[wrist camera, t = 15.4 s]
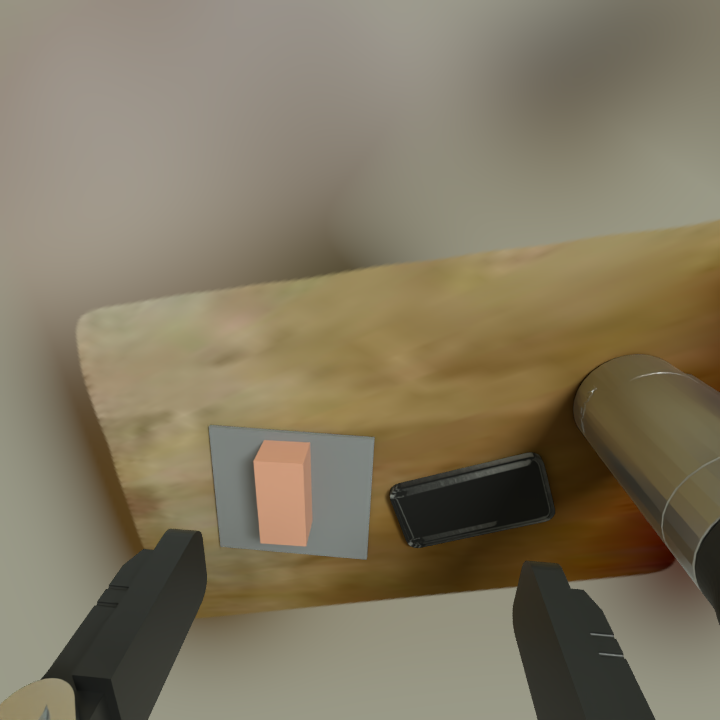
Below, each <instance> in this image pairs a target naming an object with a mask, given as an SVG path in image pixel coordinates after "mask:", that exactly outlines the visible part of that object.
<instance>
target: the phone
mask: <svg viewBox="0 0 720 720" xmlns="http://www.w3.org/2000/svg"><path fill="white" fill-rule="evenodd" d="M390 500H391V503H392V505H393V508H394V510H395V513H396V516H397V518H398V521H399V523H400V526H401V528H402V531H403V534H404V536H405V539H406V541H407V543H408V544H409V545H410V546H412V547H414V548H421V547H426V546H431V545H436V544H440V543H445V542H450V541H455V540H459V539H464V538H469V537H474V536H478V535H483V534H488V533H493V532H498V531H502V530H507V529H512V528H517V527H521V526H526V525H531V524H536V523H540V522H545V521H548V520H550V519H551V518H552V517H553V516H554V514H555V508H554V504H553V499H552V495H551V491H550V487H549V483H548V478H547V474H546V470H545V466H544V463H543V461H542V459H541V457H540V456H539V455H538V454H536V453H531V452H530V453H524V454H520V455H516V456H512V457H507V458H503V459H499V460H495V461H491V462H487V463H482V464H478V465H474V466H470V467H466V468H461V469H457V470H453V471H449V472H445V473H440V474H436V475H432V476H428V477H424V478H419V479H415V480H411V481H407V482H403V483H398V484H396V485H394V486H393V487H392V488H391V490H390Z"/></svg>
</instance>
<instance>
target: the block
mask: <svg viewBox="0 0 720 720" xmlns="http://www.w3.org/2000/svg"><path fill="white" fill-rule="evenodd" d="M253 463H254V474H255V486H256V497H257V509H258V520H259V532H260V543H262V544H277V545H292V546H307V541H308V537H309V533H310V529H311V525H312V488H311V454H310V442H292V441H273V440H264V441H263V443H262V445H261V447H260V449H259V451H258V453H257V455H256V457H255V459H254V461H253Z"/></svg>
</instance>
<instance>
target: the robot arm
mask: <svg viewBox="0 0 720 720" xmlns="http://www.w3.org/2000/svg"><path fill="white" fill-rule="evenodd" d="M573 413H574V419H575V422H576V424H577V427H578V428H579V430H580V431H581V432H582V434H583V435H584V436H585V438H586V439H587V440H588V442H589V443H590V444H591V446H592V447H593V448H594V450H595V451H596V453H597V454H598V456H599V457H600V458H601V460H602V461H603V462H604V463H605V465H606V466H607V467H608V469H609V470H610V471H611V473H612V474H613V475H614V477H615V478H616V479H617V481H618V482H619V483H620V485H621V486H622V487H623V489H624V490H625V491H626V493H627V494H628V495H629V497H630V498H631V499H632V501H633V502H634V503H635V505H636V506H637V507H638V509H639V510H640V511H641V513H642V514H643V515H644V517H645V518H646V519H647V521H648V522H649V523H650V525H651V526H652V527H653V529H654V530H655V531H656V533H657V534H658V535H659V536H660V538H661V539H662V540H663V542H664V543H665V544H666V546H667V547H668V548H669V550H670V551H671V552H672V553H673V555H674V556H675V557H676V559H677V560H678V561H679V563H680V564H681V565H682V567H683V568H684V569H685V571H686V572H687V573H688V575H689V576H690V577H691V579H692V580H693V581H694V583H695V584H696V585H697V587H698V588H699V589H700V591H701V592H702V593H703V594H704V596H705V597H706V598H707V599H708V601H709V602H710V603H711V605H712V606H713V608H714V609H715V612H716V615H717V619H718V622H719V625H720V393H719V392H718V391H716V390H715V389H713V388H711V387H710V386H708V385H707V384H705V383H704V382H702V381H700V380H699V379H697V378H696V377H694V376H693V375H691V374H685V373H683V372H682V371H680V370H679V369H677V368H675V367H674V366H672V365H671V364H669V363H668V362H666V361H664V360H662V359H660V358H657V357H654V356H650V355H641V354H635V355H626V356H622V357H619V358H615V359H612V360H610V361H608V362H606V363H604V364H602V365H601V366H599V367H598V368H597V369H595V370H594V371H592V372H591V373H590V374H589V375H588V377H587V378H586V379H585V380H584V381H583V382H582V384H581V386H580V387H579V389H578V391H577V393H576V396H575V399H574V405H573ZM206 583H207V572H206V563H205V555H204V546H203V538H202V534H201V532H200V531H192V530H180V529H169V530H167V531H166V532H165V534H164V535H163V537H162V538H161V540H160V541H159V543H158V544H157V546H156V547H155V549H154V550H148V549H143V550H142V551H140V552H139V553H138V554H137V555H135V556H134V557H133V558H132V559H130V560H129V561H128V562H127V563H125V564H124V565H123V566H122V568H121V569H120V570H119V572H118V573H117V575H116V576H115V577H114V579H113V580H112V582H111V583H110V585H109V588H108V589H106V590H105V591H104V593H103V594H102V596H101V597H100V599H99V600H98V602H97V605H96V606H94V607H93V608H92V610H91V611H90V613H89V614H88V615H87V617H86V618H85V620H84V621H83V623H82V624H81V625H80V627H79V628H78V630H77V631H76V632H75V634H74V635H73V636H72V638H71V639H70V641H69V642H68V644H67V645H66V646H65V648H64V650H63V651H62V652H61V653H60V655H59V656H58V658H57V659H56V660H55V662H54V663H53V665H52V666H51V667H50V669H49V670H48V672H47V673H46V674H45V675H44V676H43V678H42V679H41V680H39V681H36V682H33V683H30V684H28V685H26V686H24V687H22V688H21V689H19V690H18V691H16V692H14V693H13V694H12V695H11V696H9V697H8V698H7V699H5V700H4V701H3V702H2V703H1V704H0V720H148V718H149V716H150V714H151V711H152V709H153V707H154V705H155V703H156V701H157V699H158V696H159V694H160V692H161V690H162V687H163V685H164V683H165V681H166V679H167V677H168V675H169V672H170V670H171V668H172V666H173V664H174V662H175V659H176V657H177V655H178V653H179V651H180V649H181V646H182V644H183V642H184V640H185V638H186V635H187V633H188V631H189V629H190V627H191V624H192V622H193V620H194V618H195V616H196V614H197V612H198V609H199V607H200V605H201V603H202V600H203V597H204V594H205V589H206ZM513 627H514V633H515V637H516V641H517V644H518V648H519V652H520V655H521V659H522V663H523V667H524V670H525V674H526V678H527V682H528V685H529V689H530V693H531V696H532V700H533V704H534V708H535V711H536V715H537V719H538V720H655V718H654V716H653V714H652V711H651V709H650V707H649V705H648V703H647V701H646V699H645V697H644V695H643V693H642V691H641V689H640V687H639V685H638V683H637V681H636V679H635V677H634V675H633V672H632V670H631V668H630V666H629V664H628V662H627V660H626V659H624V657H623V652H622V650H621V648H620V646H619V644H618V642H617V640H616V639H614V634H613V632H612V630H611V627H610V626H609V623H608V622H607V619H606V617H605V615H604V613H603V611H602V610H601V609H600V608H599V606H598V605H597V604H596V603H595V602H594V601H593V600H592V599H591V598H590V597H589V595H588V594H587V593H586V592H585V591H584V590H579V589H571V588H570V586H569V584H568V581H567V579H566V577H565V574H564V572H563V570H562V568H561V566H560V565H559V564H557V563H546V562H535V561H525V562H524V563H523V566H522V570H521V574H520V578H519V583H518V587H517V591H516V595H515V599H514V604H513Z"/></svg>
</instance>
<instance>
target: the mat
mask: <svg viewBox="0 0 720 720" xmlns="http://www.w3.org/2000/svg"><path fill="white" fill-rule="evenodd" d="M209 435H210V445H211V455H212V465H213V476H214V486H215V496H216V506H217V516H218V526H219V536H220V546H221V547H230V548H241V549H253V550H264V551H275V552H286V553H298V554H309V555H320V556H332V557H343V558H354V559H365V560H367V548H368V532H369V516H370V500H371V484H372V468H373V452H374V437H365V436H351V435H338V434H324V433H311V432H298V431H284V430H271V429H257V428H244V427H230V426H217V425H210V426H209ZM264 440H273V441H292V442H310V454H311V488H312V525H311V529H310V533H309V537H308V541H307V546H292V545H277V544H262V543H260V532H259V520H258V509H257V497H256V486H255V474H254V463H253V461H254V459H255V457H256V455H257V453H258V451H259V449H260V447H261V445H262V443H263V441H264Z"/></svg>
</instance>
